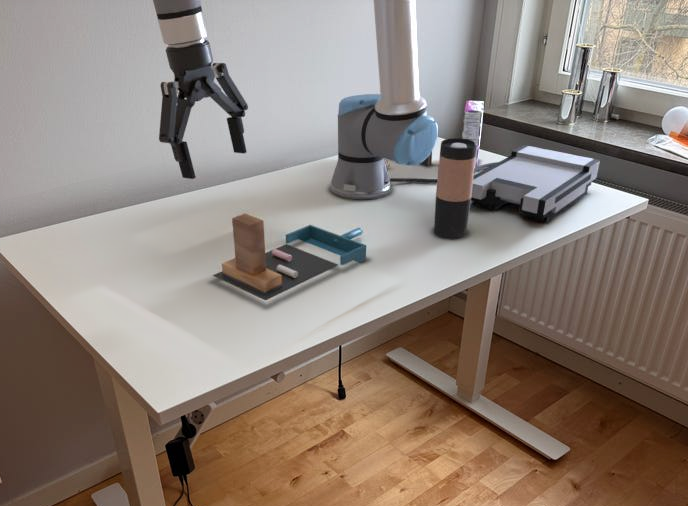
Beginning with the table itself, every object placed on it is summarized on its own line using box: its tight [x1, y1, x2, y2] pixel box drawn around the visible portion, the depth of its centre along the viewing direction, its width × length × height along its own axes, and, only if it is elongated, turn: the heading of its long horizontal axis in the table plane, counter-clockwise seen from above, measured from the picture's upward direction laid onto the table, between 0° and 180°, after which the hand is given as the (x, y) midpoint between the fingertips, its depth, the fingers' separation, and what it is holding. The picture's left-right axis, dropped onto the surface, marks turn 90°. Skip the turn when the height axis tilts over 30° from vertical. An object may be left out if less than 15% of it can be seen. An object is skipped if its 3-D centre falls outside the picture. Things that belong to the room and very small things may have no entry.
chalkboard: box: [212, 243, 339, 301], centre depth 139 cm, size 20×15×2 cm
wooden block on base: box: [221, 213, 282, 295], centre depth 131 cm, size 4×12×12 cm, turn 48°
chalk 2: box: [277, 265, 298, 278], centre depth 136 cm, size 1×5×1 cm, turn 48°
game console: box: [471, 144, 601, 224], centre depth 172 cm, size 21×32×8 cm, turn 142°
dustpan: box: [285, 224, 367, 266], centre depth 149 cm, size 15×16×3 cm
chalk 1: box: [271, 248, 292, 262], centre depth 142 cm, size 1×5×1 cm
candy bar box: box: [461, 100, 485, 169], centre depth 193 cm, size 11×5×16 cm, turn 168°
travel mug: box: [433, 137, 477, 240], centre depth 152 cm, size 8×8×20 cm
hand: (215, 164), depth 131 cm, fingers open, 13 cm apart
